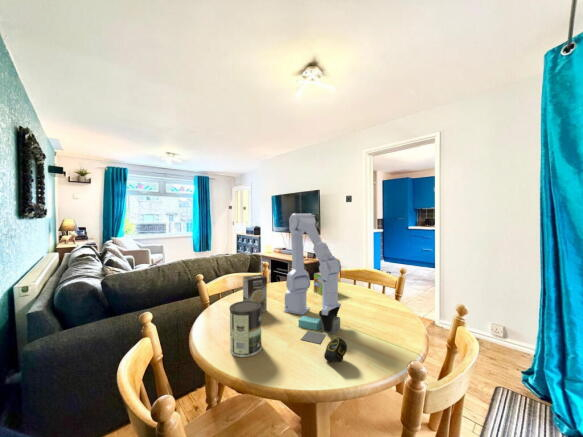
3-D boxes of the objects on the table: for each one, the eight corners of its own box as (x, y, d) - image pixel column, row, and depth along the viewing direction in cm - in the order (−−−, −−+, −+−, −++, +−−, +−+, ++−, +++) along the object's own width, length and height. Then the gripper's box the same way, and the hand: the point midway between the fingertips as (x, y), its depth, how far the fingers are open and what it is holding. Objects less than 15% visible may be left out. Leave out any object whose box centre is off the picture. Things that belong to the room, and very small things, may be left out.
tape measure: (330, 364, 73) (320, 356, 73) (339, 343, 77) (331, 335, 77) (343, 366, 68) (333, 357, 68) (352, 343, 72) (343, 335, 72)
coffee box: (248, 316, 105) (248, 279, 105) (242, 312, 111) (242, 276, 111) (267, 312, 111) (267, 276, 110) (260, 307, 116) (260, 273, 116)
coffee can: (259, 338, 87) (258, 299, 87) (264, 354, 77) (264, 309, 77) (229, 343, 84) (228, 302, 84) (230, 360, 74) (230, 313, 74)
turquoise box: (298, 327, 95) (298, 319, 95) (302, 322, 99) (302, 315, 99) (318, 331, 92) (318, 323, 92) (321, 326, 96) (321, 318, 96)
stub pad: (300, 340, 85) (300, 339, 85) (307, 331, 92) (307, 330, 92) (320, 344, 82) (320, 343, 82) (325, 335, 89) (325, 334, 89)
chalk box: (313, 293, 136) (313, 267, 136) (326, 291, 141) (326, 265, 140) (323, 298, 128) (323, 270, 128) (337, 295, 133) (336, 268, 132)
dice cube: (333, 335, 89) (333, 321, 89) (321, 331, 92) (321, 318, 92) (340, 330, 92) (340, 317, 92) (328, 326, 96) (328, 314, 96)
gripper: (335, 298, 84) (335, 338, 84) (344, 287, 97) (345, 321, 97) (316, 295, 87) (316, 334, 87) (327, 285, 100) (327, 318, 100)
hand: (330, 327), depth 92 cm, fingers open, 6 cm apart
